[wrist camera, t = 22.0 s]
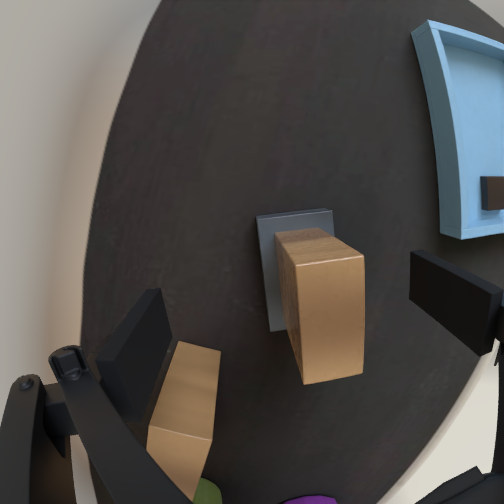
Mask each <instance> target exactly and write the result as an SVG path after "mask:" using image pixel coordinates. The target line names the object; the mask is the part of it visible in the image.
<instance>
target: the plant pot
mask: <svg viewBox="0 0 504 504" xmlns="http://www.w3.org/2000/svg"><path fill="white" fill-rule="evenodd" d="M192 502H193V503H194V504H222V497H221V491H220V489H219V488H218V487H217V486H216V485H215V484H214V483H212V482H210V481H208V480H206V479H204V478H200V480H199V483H198V486H197V489H196V492H195V495H194V498H193V501H192Z"/></svg>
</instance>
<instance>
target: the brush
mask: <svg viewBox="0 0 504 504" xmlns="http://www.w3.org/2000/svg"><path fill="white" fill-rule="evenodd" d="M256 225H257V233H258V241H259V249H260V257H261V265H262V274H263V282H264V290H265V299H266V307H267V315H268V322H269V328H270V332H272V331H280V330H287V331H288V335H289V338H290V341H291V344H292V348H293V351H294V354H295V358H296V361H297V364H298V368H299V371H300V374H301V378H302V381H303V384H304V385H307V384H312V383H318V382H323V381H329V380H334V379H339V378H343V377H348V376H353V375H357V374H361V373H362V372H363V357H364V330H365V268H364V255H362V254H361V253H359V252H358V251H356V250H354V249H353V248H351V247H350V246H348V245H346V244H345V243H343V242H342V241H340V240H338V239H337V238H335V237H334V225H333V213H332V210H329V209H326V208H319V209H310V210H302V211H293V212H284V213H276V214H268V215H260V216H256Z"/></svg>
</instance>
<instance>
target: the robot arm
mask: <svg viewBox="0 0 504 504" xmlns="http://www.w3.org/2000/svg"><path fill="white" fill-rule="evenodd" d="M409 299H410V300H411V301H413V302H414V303H415V304H416V305H418V306H419V307H420V308H421V309H423V310H424V311H425V312H426V313H428V314H429V315H430V316H431V317H433V318H434V319H435V320H436V321H437V322H439V323H440V324H441V325H442V326H444V327H445V328H446V329H447V330H448V331H450V332H451V333H452V334H453V335H454V336H456V337H457V338H458V339H459V340H460V341H462V342H463V343H464V344H465V345H466V346H468V347H469V348H470V349H471V350H472V351H473V352H475V353H476V354H477V355H478V356H479V357H480V356H482V355H485V354H487V353H489V352H491V351H492V348H493V344H494V340H495V338H496V339H497V340H498V341H500V345H499V349H498V353H497V357H496V360H495V364H494V366H496V365H497V363H498V362H499V400H498V403H499V404H498V420H497V432H496V441H495V450H494V457H493V464H492V470H491V472H490V473H485V474H482V473H481V472H480V470H479V469H478V467H477V466H475V467H473V468H472V469H470V470H468V471H466V472H464V473H462V474H460V475H458V476H456V477H454V478H452V479H450V480H448V481H446V482H444V483H443V484H441V485H440V486H439V487H437V488H436V489H435V490H433V491H432V492H431V493H429V494H428V495H426V496H425V497H424V498H422V499H421V500H419V501H418V502H416V503H415V504H504V290H503V289H501V288H499V287H497V286H495V285H494V284H492V283H490V282H488V281H486V280H484V279H482V278H480V277H478V276H476V275H474V274H472V273H470V272H468V271H466V270H464V269H462V268H460V267H458V266H456V265H454V264H451V263H449V262H447V261H445V260H443V259H441V258H439V257H437V256H435V255H432V254H430V253H428V252H426V251H424V250H417V251H411V252H410V293H409ZM171 339H172V333H171V329H170V325H169V321H168V317H167V313H166V309H165V305H164V301H163V297H162V293H161V288H156V289H147V290H146V291H145V292H144V293H143V295H142V296H141V297H140V299H139V300H138V301H137V302H136V304H135V305H134V306H133V308H132V309H131V310H130V312H129V313H128V314H127V316H126V317H125V318H124V320H123V321H122V322H121V324H120V325H119V326H118V328H117V329H116V331H115V332H114V333H113V335H108V336H106V337H105V338H103V339H102V340H101V341H100V342H99V343H98V344H97V346H96V348H94V350H93V351H92V353H91V354H90V355H89V356H88V358H87V359H86V357H85V355H84V352H83V350H82V348H81V347H80V346H76V345H71V346H66V347H62V348H60V349H58V350H56V351H54V352H53V353H52V354H51V355H50V356H49V360H48V361H49V364H50V366H51V368H52V370H53V372H54V375H55V377H56V379H57V381H58V383H54V384H48V385H43V383H42V381H41V379H40V377H39V376H38V375H34V374H30V375H26V376H21V378H20V377H19V378H18V379H17V380H16V381H15V382H14V383H13V384H12V386H11V389H10V392H9V396H8V399H7V403H6V406H5V410H4V414H3V418H2V422H1V426H0V504H77V503H76V496H75V489H74V481H73V471H72V462H71V461H72V460H71V446H70V435H76V434H77V435H78V434H79V436H80V439H81V441H82V443H83V445H84V447H85V449H86V451H87V453H88V455H89V457H90V459H91V461H92V463H93V465H94V467H95V469H96V471H97V473H98V475H99V476H100V478H101V480H102V482H103V484H104V485H105V487H106V489H107V491H108V492H109V494H110V496H111V497H112V499H113V501H114V502H115V504H194V503H193V502H192V501H191V500H190V499H189V498H188V497H187V496H186V495H185V494H184V493H183V492H182V491H181V490H180V489H179V488H178V487H177V485H176V484H175V483H174V482H173V481H172V480H171V479H170V478H169V477H168V475H167V474H166V473H165V472H164V471H163V470H162V469H161V467H160V466H159V465H158V464H157V463H156V462H155V460H154V459H153V458H152V457H151V455H150V454H149V453H148V452H147V451H146V449H145V448H144V447H143V445H142V444H141V443H140V442H139V440H138V439H137V438H136V436H135V435H134V434H133V432H132V431H131V430H130V428H129V427H128V426H127V424H126V423H125V422H141V420H142V418H143V415H144V412H145V409H146V406H147V403H148V401H149V398H150V395H151V392H152V390H153V387H154V384H155V381H156V379H157V376H158V373H159V371H160V368H161V365H162V363H163V360H164V357H165V355H166V352H167V349H168V347H169V344H170V341H171Z"/></svg>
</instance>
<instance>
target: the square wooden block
mask: <svg viewBox="0 0 504 504" xmlns="http://www.w3.org/2000/svg"><path fill="white" fill-rule="evenodd" d="M220 357H221V351H217V350H213V349H209V348H205V347H201V346H197V345H193V344H189V343H185V342H182V341H178V344H177V347H176V350H175V352H174V355H173V358H172V361H171V363H170V366H169V369H168V372H167V374H166V377H165V380H164V383H163V386H162V389H161V392H160V394H159V397H158V400H157V403H156V406H155V409H154V412H153V415H152V418H151V421H150V424H149V429H148V438H147V448H146V451H147V452H148V453H149V454H150V455H151V457H152V458H153V459H154V460H155V462H156V463H157V464H158V465H159V466H160V467H161V469H162V470H163V471H164V472H165V473H166V474H167V475H168V477H169V478H170V479H171V480H172V481H173V482H174V483H175V484H176V485H177V487H178V488H179V489H180V490H181V491H182V492H183V493H184V494H185V495H186V496H187V497H188V498H189V499H190V500H191V501H193V498H194V495H195V492H196V489H197V486H198V483H199V480H200V477H201V474H202V471H203V468H204V465H205V462H206V459H207V455H208V452H209V449H210V446H211V443H212V438H213V428H214V417H215V406H216V396H217V386H218V376H219V367H220Z"/></svg>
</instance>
